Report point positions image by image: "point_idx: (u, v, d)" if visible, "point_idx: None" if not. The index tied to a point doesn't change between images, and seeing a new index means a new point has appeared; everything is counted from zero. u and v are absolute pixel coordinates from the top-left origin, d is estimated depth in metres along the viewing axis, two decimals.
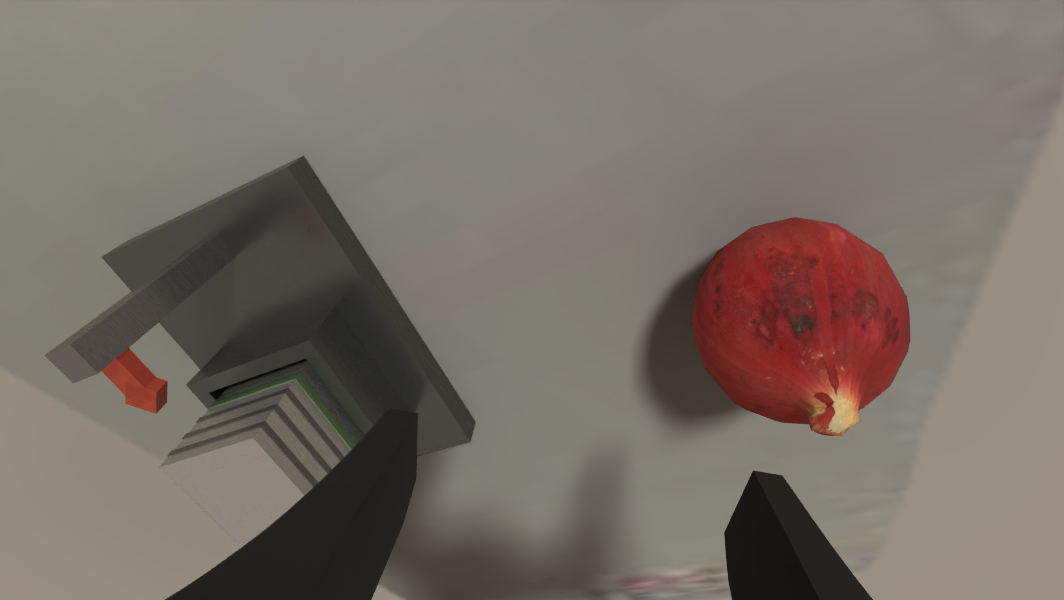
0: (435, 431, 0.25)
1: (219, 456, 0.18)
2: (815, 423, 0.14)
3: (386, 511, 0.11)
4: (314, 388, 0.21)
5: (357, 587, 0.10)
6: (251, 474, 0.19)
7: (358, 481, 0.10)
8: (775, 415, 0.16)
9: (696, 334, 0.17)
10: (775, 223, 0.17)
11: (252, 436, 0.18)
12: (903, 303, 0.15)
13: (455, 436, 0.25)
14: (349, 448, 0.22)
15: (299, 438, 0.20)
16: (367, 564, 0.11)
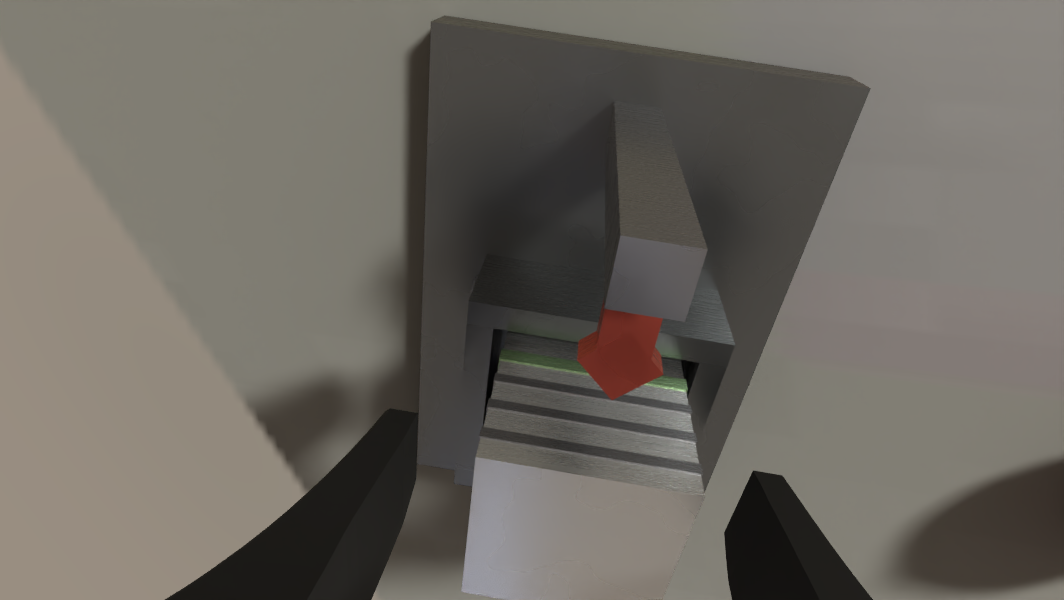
0: None
1: (608, 491, 0.10)
2: None
3: (386, 511, 0.11)
4: None
5: (357, 587, 0.10)
6: (625, 532, 0.11)
7: (358, 481, 0.10)
8: None
9: None
10: None
11: (698, 490, 0.10)
12: None
13: None
14: None
15: None
16: (367, 564, 0.11)
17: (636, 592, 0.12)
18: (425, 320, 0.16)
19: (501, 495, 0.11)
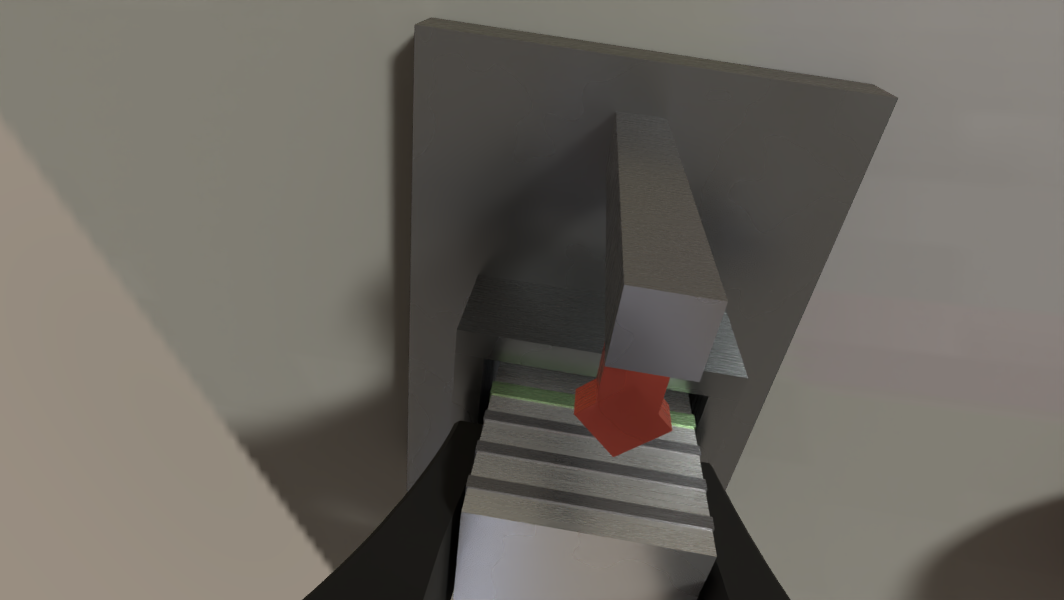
0: None
1: (609, 549, 0.09)
2: None
3: None
4: None
5: None
6: (627, 592, 0.10)
7: (443, 496, 0.10)
8: None
9: None
10: None
11: (709, 549, 0.09)
12: None
13: None
14: None
15: None
16: (447, 578, 0.11)
17: None
18: (413, 343, 0.15)
19: (490, 551, 0.10)
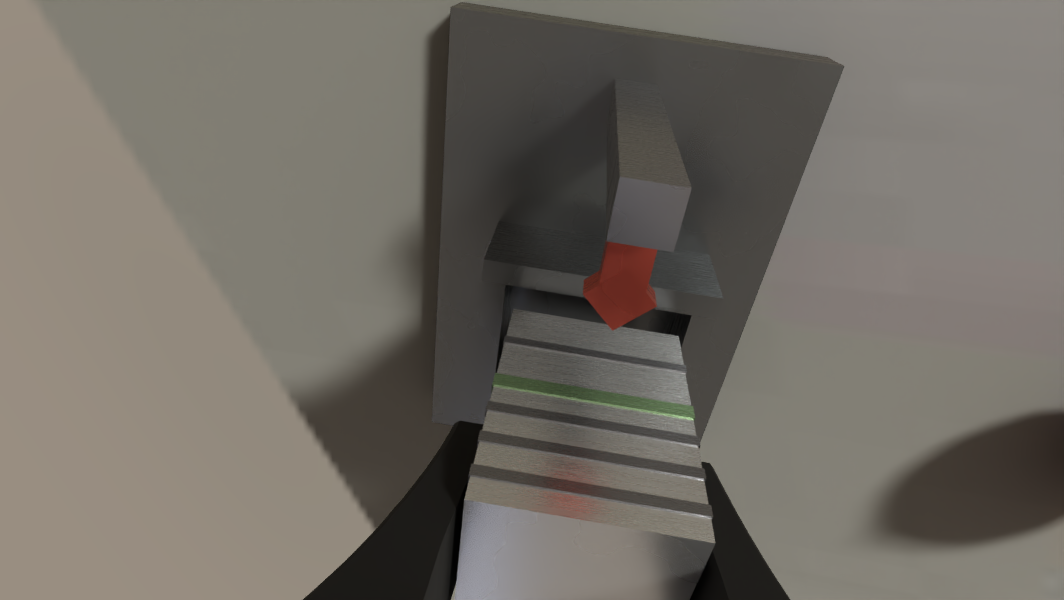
0: None
1: (609, 536, 0.09)
2: None
3: None
4: None
5: None
6: (627, 578, 0.10)
7: (443, 496, 0.10)
8: None
9: None
10: None
11: (708, 536, 0.09)
12: None
13: None
14: None
15: None
16: (447, 578, 0.11)
17: None
18: (441, 284, 0.17)
19: (493, 539, 0.10)
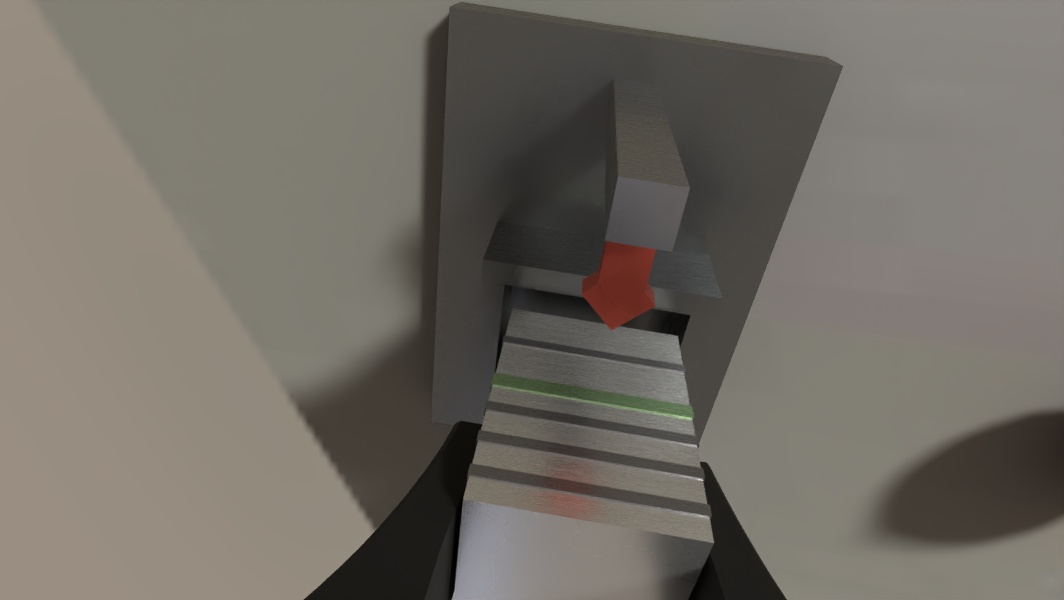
0: None
1: (608, 536, 0.09)
2: None
3: None
4: None
5: None
6: (626, 578, 0.10)
7: (444, 496, 0.10)
8: None
9: None
10: None
11: (707, 536, 0.09)
12: None
13: None
14: None
15: None
16: (448, 579, 0.11)
17: None
18: (440, 284, 0.17)
19: (492, 539, 0.10)
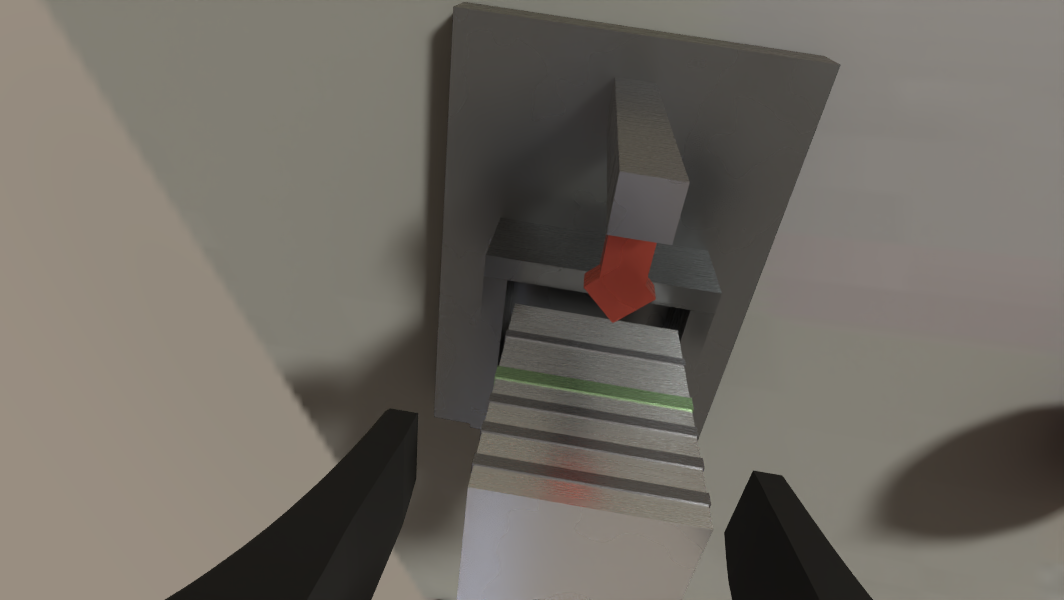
0: None
1: (609, 523, 0.10)
2: None
3: (386, 511, 0.11)
4: None
5: (357, 587, 0.10)
6: (627, 565, 0.10)
7: (358, 481, 0.10)
8: None
9: None
10: None
11: (706, 523, 0.10)
12: None
13: None
14: None
15: None
16: (367, 564, 0.11)
17: None
18: (443, 280, 0.18)
19: (495, 526, 0.10)
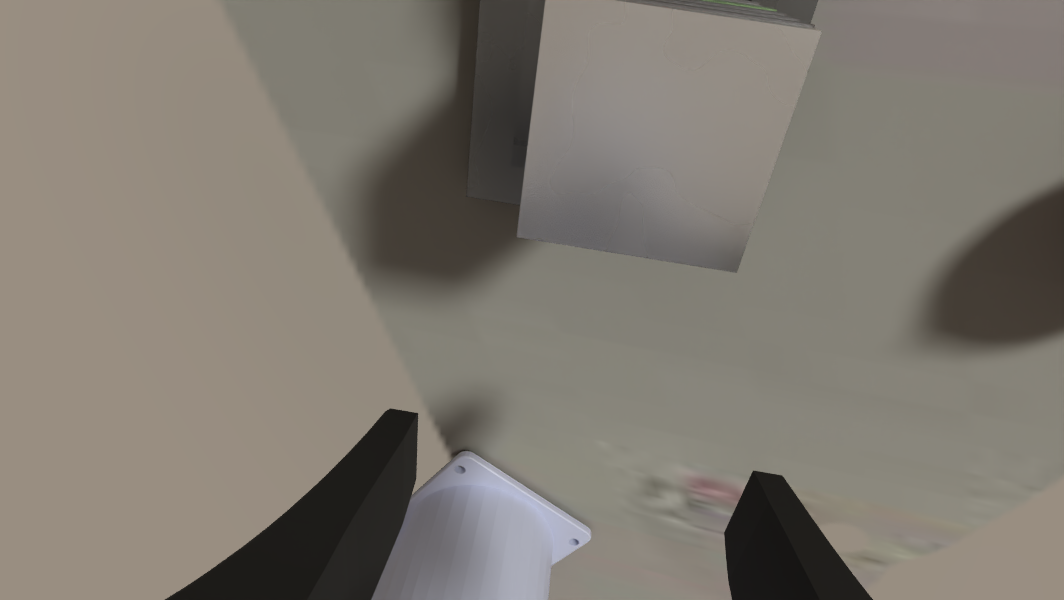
0: None
1: (704, 35, 0.09)
2: None
3: (386, 511, 0.11)
4: None
5: (357, 587, 0.10)
6: (718, 109, 0.09)
7: (358, 481, 0.10)
8: None
9: None
10: None
11: (813, 29, 0.09)
12: None
13: None
14: None
15: None
16: (367, 564, 0.11)
17: (723, 215, 0.10)
18: (482, 12, 0.17)
19: (573, 57, 0.09)
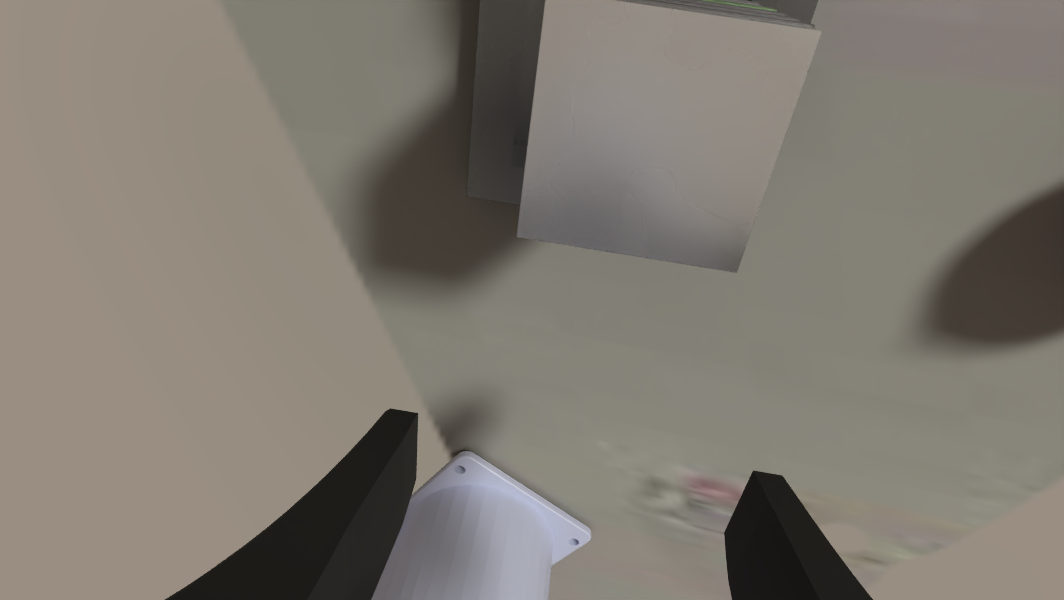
0: None
1: (704, 35, 0.09)
2: None
3: (386, 511, 0.11)
4: None
5: (357, 587, 0.10)
6: (718, 109, 0.09)
7: (358, 481, 0.10)
8: None
9: None
10: None
11: (813, 29, 0.09)
12: None
13: None
14: None
15: None
16: (367, 564, 0.11)
17: (723, 215, 0.10)
18: (482, 12, 0.17)
19: (573, 57, 0.09)
